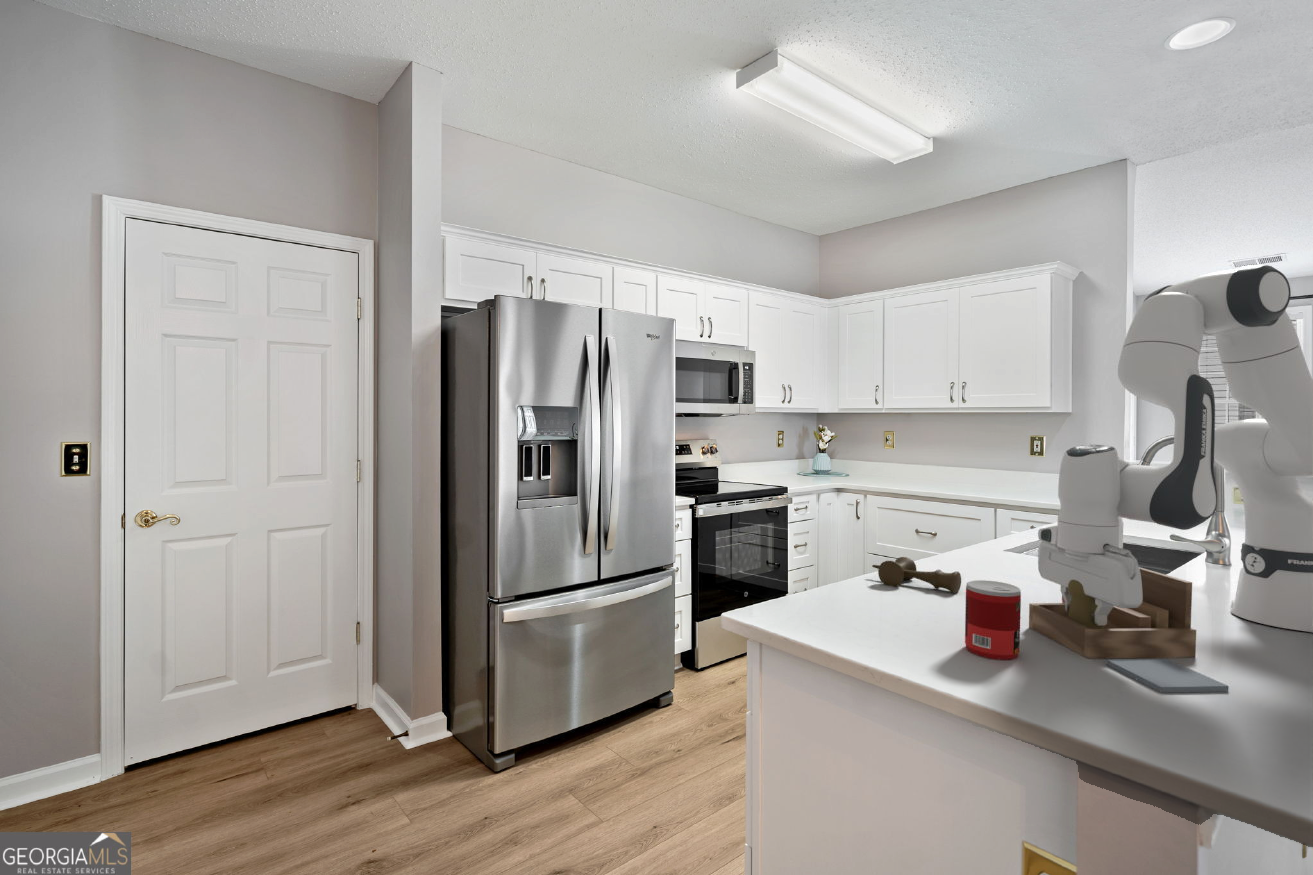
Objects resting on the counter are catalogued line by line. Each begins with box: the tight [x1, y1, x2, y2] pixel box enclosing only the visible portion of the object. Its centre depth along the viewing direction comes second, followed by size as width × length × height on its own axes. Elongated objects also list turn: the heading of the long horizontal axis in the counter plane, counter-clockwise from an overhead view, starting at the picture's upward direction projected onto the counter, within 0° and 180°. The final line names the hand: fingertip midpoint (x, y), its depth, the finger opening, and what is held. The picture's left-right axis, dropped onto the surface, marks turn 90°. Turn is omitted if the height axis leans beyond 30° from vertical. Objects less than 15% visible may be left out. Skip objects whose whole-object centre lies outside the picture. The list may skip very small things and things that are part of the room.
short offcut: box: [1103, 606, 1151, 629], centre depth 109 cm, size 2×10×6 cm, turn 3°
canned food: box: [964, 579, 1022, 661], centre depth 103 cm, size 8×8×11 cm
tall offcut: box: [1129, 601, 1169, 628], centre depth 109 cm, size 2×10×7 cm, turn 3°
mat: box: [1106, 658, 1230, 694], centre depth 93 cm, size 10×10×1 cm
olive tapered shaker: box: [1068, 580, 1104, 629], centre depth 108 cm, size 6×6×11 cm
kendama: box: [871, 556, 962, 595], centre depth 145 cm, size 6×10×20 cm
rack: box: [1028, 566, 1197, 660], centre depth 108 cm, size 18×15×12 cm
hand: (1085, 618), depth 108 cm, fingers closed on olive tapered shaker, 5 cm apart
